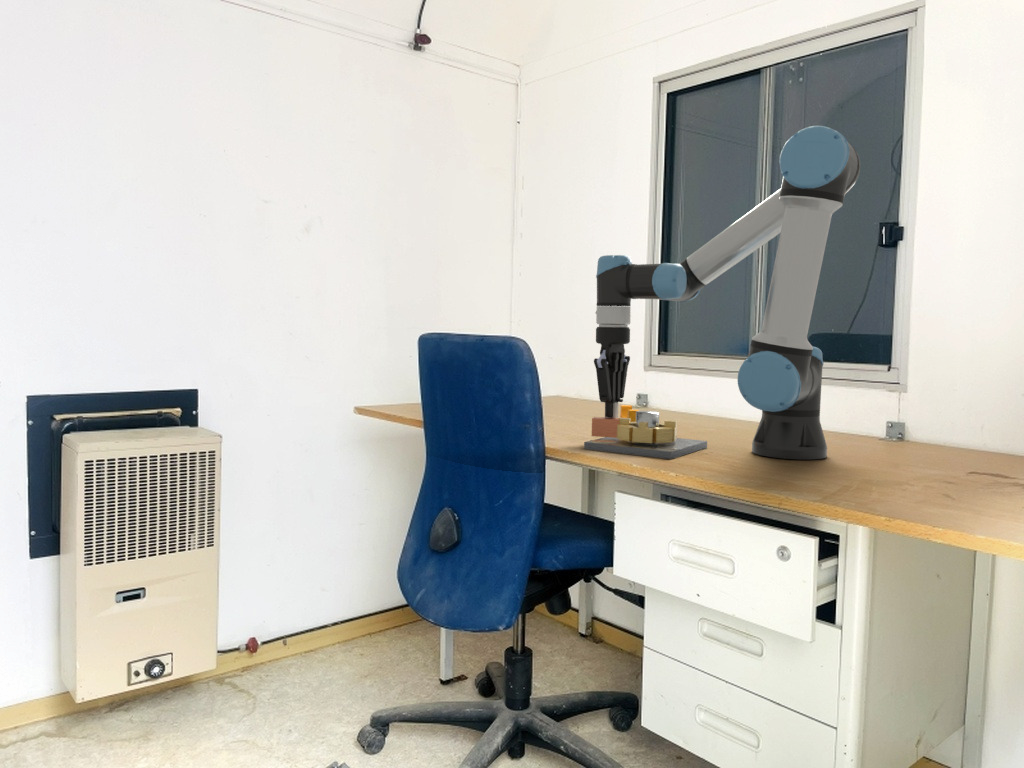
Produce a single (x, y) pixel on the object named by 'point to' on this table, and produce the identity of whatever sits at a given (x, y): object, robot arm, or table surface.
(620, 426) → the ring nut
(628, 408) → the pipe clamp
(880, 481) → the table surface
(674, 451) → the flange plate
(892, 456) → the table surface
